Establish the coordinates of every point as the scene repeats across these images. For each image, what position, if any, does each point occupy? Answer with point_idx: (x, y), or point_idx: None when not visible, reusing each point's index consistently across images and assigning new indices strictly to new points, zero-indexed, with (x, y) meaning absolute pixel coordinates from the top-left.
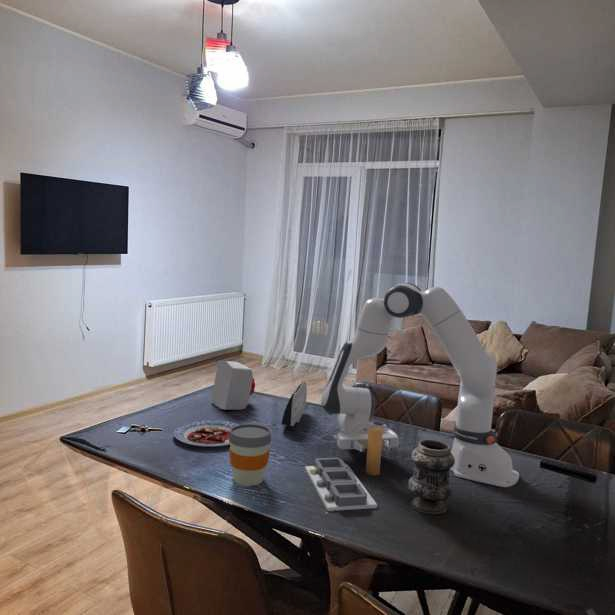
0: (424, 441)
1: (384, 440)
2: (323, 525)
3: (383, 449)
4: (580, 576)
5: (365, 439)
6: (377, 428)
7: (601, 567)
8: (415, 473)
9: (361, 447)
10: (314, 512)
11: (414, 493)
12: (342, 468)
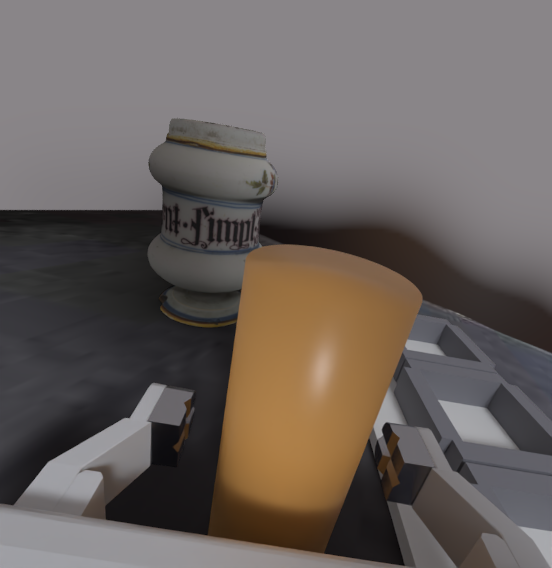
0: (224, 131)
1: (79, 508)
2: (456, 324)
3: (178, 461)
4: (154, 216)
5: (388, 564)
6: (294, 281)
7: (113, 211)
8: (258, 227)
9: (423, 428)
10: (492, 355)
11: None
12: (493, 473)
